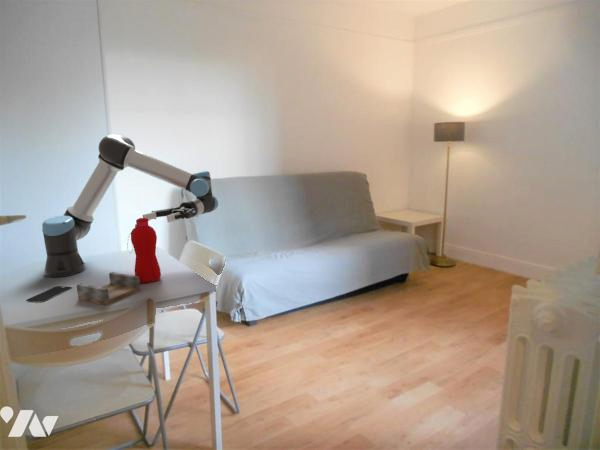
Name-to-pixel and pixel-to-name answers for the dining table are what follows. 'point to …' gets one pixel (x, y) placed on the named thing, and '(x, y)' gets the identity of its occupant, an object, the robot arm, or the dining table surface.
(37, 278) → the dining table surface
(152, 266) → the water bottle
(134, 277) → the bottle holder
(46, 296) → the smartphone
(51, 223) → the robot arm
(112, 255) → the dining table surface
